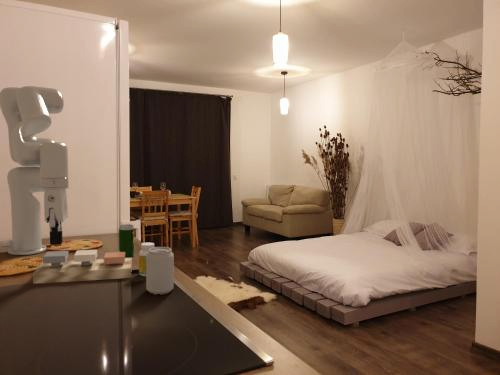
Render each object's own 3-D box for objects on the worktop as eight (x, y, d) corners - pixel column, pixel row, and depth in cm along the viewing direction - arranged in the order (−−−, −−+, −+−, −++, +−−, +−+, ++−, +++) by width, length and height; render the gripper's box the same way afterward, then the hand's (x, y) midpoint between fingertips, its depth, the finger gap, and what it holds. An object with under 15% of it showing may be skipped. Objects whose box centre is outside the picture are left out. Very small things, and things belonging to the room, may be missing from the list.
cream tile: (74, 267, 120) (74, 255, 119) (77, 261, 125) (77, 250, 125) (95, 266, 121) (95, 254, 121) (97, 260, 127) (97, 249, 127)
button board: (33, 283, 114) (33, 273, 114) (43, 271, 126) (42, 261, 125) (131, 277, 121) (131, 268, 121) (131, 266, 133) (131, 257, 133)
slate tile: (43, 269, 117) (42, 256, 117) (47, 263, 123) (47, 251, 123) (65, 267, 119) (64, 255, 119) (68, 262, 125) (68, 250, 124)
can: (160, 297, 106) (160, 253, 105) (140, 291, 110) (140, 249, 109) (179, 289, 112) (179, 248, 111) (159, 284, 116) (160, 244, 115)
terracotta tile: (104, 269, 122) (104, 257, 122) (105, 263, 128) (105, 252, 127) (124, 268, 124) (124, 256, 123) (125, 262, 129) (125, 251, 129)
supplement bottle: (141, 277, 122) (141, 246, 121) (137, 272, 127) (137, 242, 126) (158, 275, 125) (158, 244, 124) (154, 270, 129) (154, 241, 128)
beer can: (121, 261, 138) (120, 227, 137) (116, 257, 143) (116, 225, 142) (136, 259, 141) (136, 226, 140) (131, 255, 146) (131, 223, 145)
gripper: (63, 185, 112) (65, 249, 114) (72, 182, 127) (73, 238, 128) (34, 185, 110) (36, 250, 112) (46, 182, 125) (48, 239, 126)
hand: (56, 244), depth 120 cm, fingers closed
